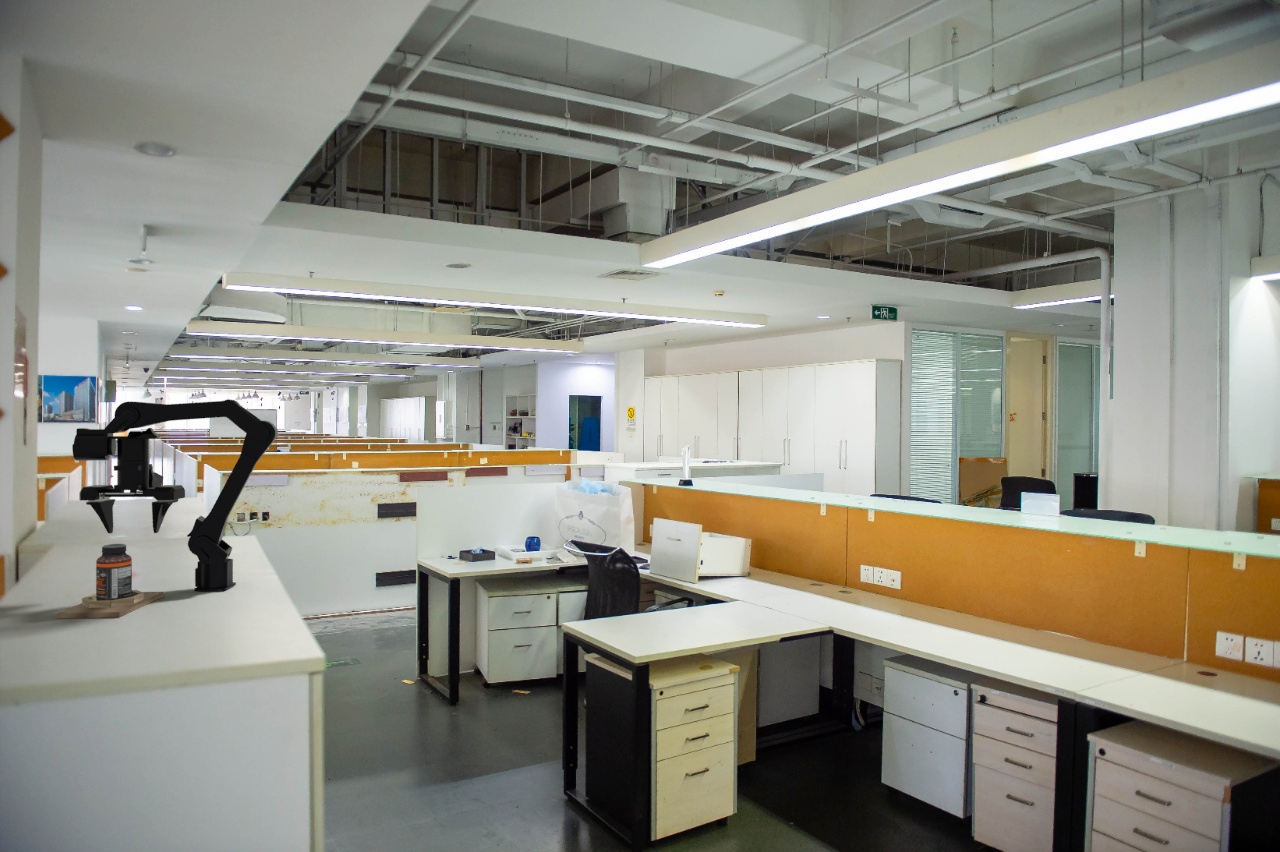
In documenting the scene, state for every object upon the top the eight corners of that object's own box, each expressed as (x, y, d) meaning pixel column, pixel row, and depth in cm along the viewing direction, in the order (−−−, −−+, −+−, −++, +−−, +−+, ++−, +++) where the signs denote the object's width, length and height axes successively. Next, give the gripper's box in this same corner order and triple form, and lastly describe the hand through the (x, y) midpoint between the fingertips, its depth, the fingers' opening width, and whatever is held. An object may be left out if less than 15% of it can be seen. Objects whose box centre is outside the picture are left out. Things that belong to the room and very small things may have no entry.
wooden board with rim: (163, 596, 166) (163, 585, 166) (119, 617, 149) (119, 605, 149) (108, 597, 165) (108, 586, 165) (57, 618, 148) (57, 606, 148)
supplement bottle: (89, 603, 156) (89, 546, 155) (121, 596, 161) (121, 541, 161) (106, 606, 153) (106, 548, 153) (138, 600, 158) (138, 544, 158)
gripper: (196, 458, 177) (196, 527, 177) (108, 457, 174) (108, 527, 175) (172, 461, 165) (172, 535, 166) (77, 460, 163) (77, 535, 164)
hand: (133, 533), depth 168 cm, fingers open, 9 cm apart
